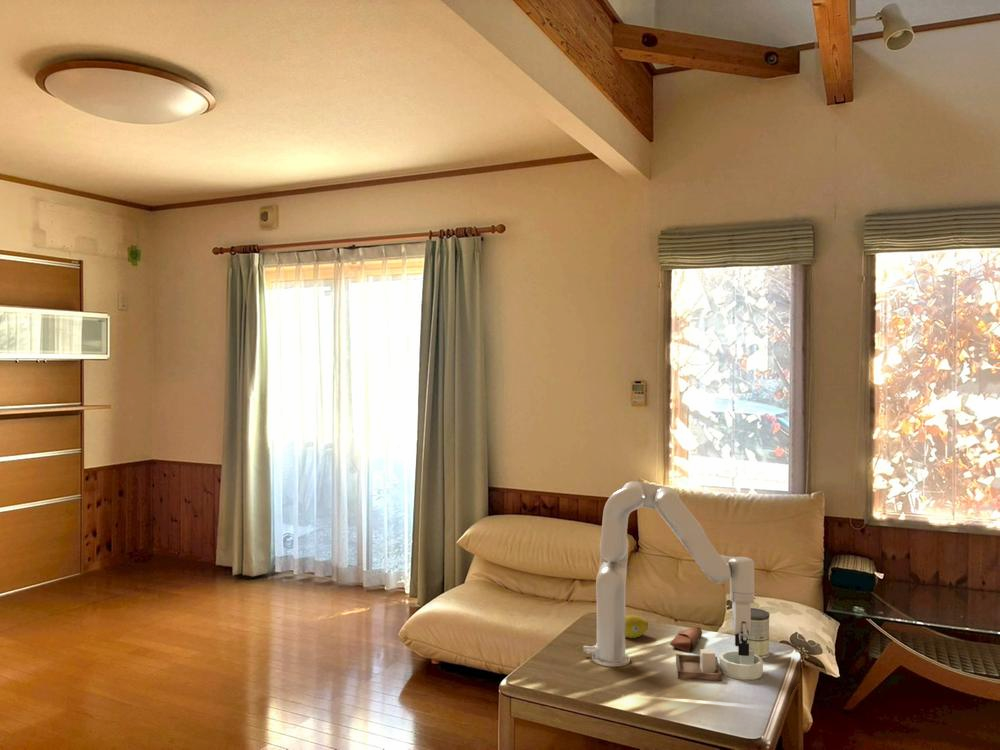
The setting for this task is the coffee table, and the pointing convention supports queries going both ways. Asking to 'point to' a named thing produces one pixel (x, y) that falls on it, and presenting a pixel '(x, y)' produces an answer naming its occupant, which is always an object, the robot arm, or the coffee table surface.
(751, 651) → the light grey block
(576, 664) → the coffee table surface
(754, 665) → the celadon bowl
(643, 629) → the lemon
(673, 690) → the coffee table surface
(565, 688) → the coffee table surface
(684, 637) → the sunglasses case
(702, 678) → the walnut tray
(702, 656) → the beige brick
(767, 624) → the coffee can
